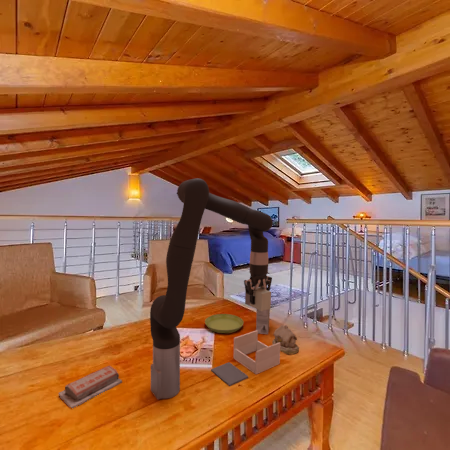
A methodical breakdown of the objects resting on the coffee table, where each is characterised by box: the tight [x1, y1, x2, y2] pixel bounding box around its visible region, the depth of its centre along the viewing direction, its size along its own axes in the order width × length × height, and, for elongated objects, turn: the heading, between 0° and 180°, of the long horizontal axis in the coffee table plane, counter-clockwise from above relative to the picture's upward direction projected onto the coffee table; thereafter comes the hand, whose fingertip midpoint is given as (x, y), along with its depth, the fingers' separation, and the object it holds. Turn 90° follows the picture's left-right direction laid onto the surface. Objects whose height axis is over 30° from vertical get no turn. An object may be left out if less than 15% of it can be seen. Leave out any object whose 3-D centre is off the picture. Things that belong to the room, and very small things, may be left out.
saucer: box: [204, 313, 244, 334], centre depth 155 cm, size 21×21×3 cm
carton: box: [233, 329, 281, 375], centre depth 121 cm, size 13×14×9 cm
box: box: [244, 286, 272, 311], centre depth 120 cm, size 5×10×7 cm, turn 37°
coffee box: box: [255, 309, 271, 335], centre depth 151 cm, size 9×6×16 cm
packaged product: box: [57, 365, 123, 409], centre depth 102 cm, size 18×5×10 cm
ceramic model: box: [271, 324, 300, 355], centre depth 134 cm, size 14×11×10 cm
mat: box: [210, 361, 249, 387], centre depth 112 cm, size 9×12×1 cm
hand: (257, 302), depth 120 cm, fingers closed on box, 5 cm apart
